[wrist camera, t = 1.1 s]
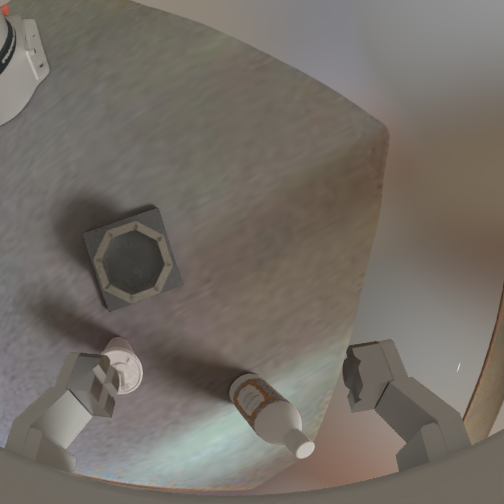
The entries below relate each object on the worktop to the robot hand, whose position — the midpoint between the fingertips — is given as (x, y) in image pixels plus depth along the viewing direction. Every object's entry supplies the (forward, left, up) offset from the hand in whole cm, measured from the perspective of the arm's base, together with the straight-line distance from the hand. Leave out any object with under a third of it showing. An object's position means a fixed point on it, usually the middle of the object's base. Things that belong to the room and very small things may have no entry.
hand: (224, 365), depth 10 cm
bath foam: (+26, +8, -38) cm, 47 cm away
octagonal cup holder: (-2, -2, -38) cm, 38 cm away
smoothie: (+10, -9, -38) cm, 40 cm away
